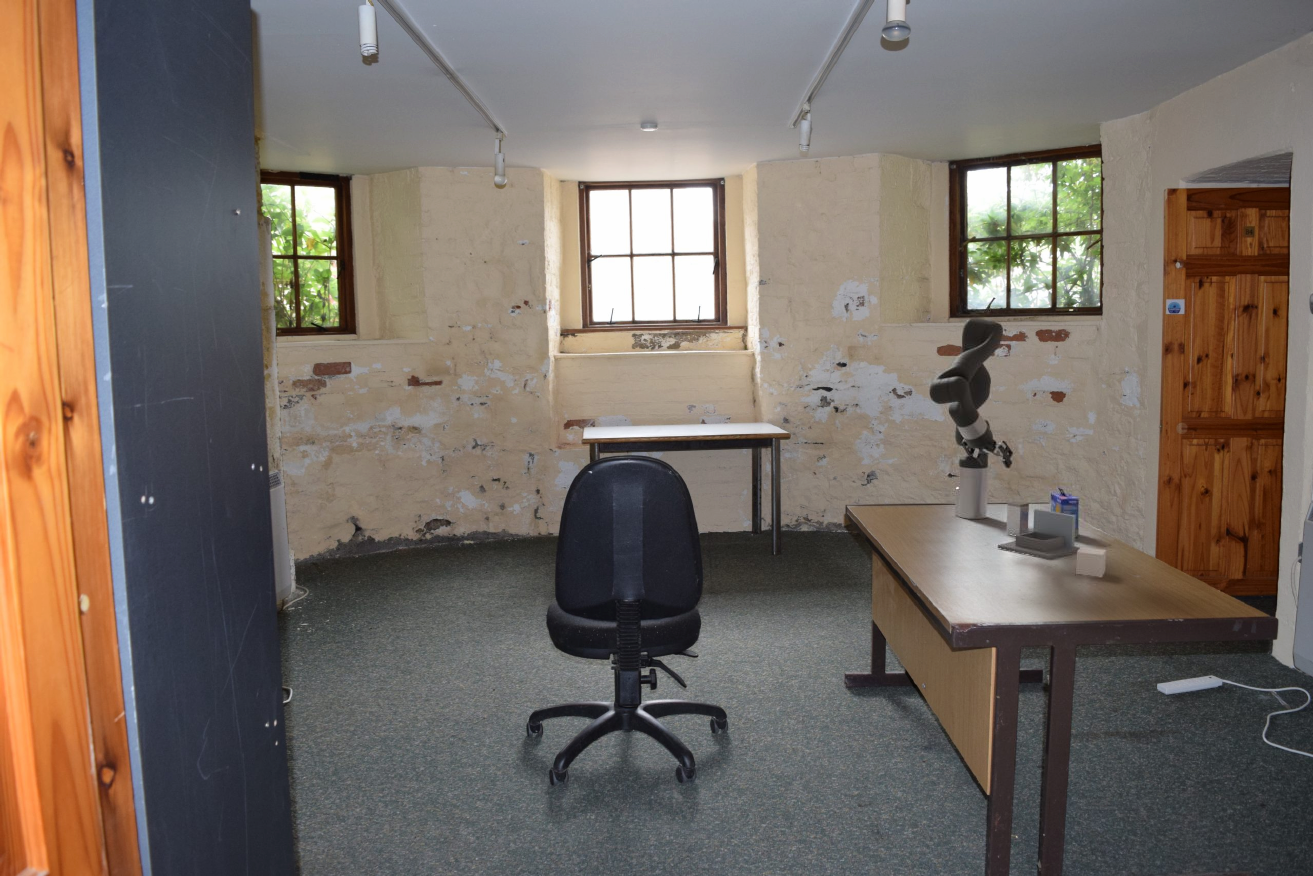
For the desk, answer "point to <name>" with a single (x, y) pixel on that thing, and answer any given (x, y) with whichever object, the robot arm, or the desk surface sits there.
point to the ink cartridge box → (1066, 506)
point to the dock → (1047, 536)
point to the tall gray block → (1017, 518)
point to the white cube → (1091, 561)
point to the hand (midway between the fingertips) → (996, 464)
